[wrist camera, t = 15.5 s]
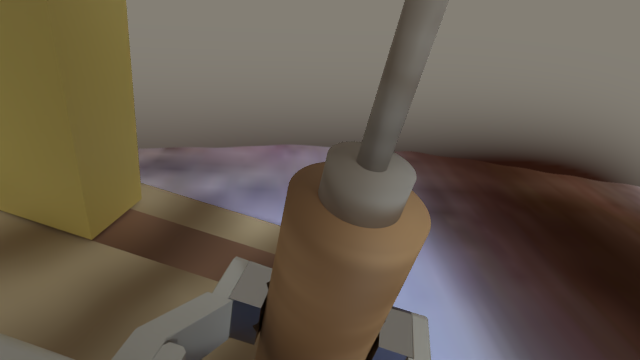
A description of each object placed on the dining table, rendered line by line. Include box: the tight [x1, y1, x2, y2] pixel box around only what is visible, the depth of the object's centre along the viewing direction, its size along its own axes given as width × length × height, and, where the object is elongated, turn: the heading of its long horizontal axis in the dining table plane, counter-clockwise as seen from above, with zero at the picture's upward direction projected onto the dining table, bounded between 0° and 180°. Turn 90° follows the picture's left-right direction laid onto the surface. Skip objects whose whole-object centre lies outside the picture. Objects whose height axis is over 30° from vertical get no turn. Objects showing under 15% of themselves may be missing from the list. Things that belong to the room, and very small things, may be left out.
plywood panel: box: [0, 183, 281, 360], centre depth 17 cm, size 20×14×1 cm
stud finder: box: [0, 0, 142, 240], centre depth 17 cm, size 4×6×12 cm
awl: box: [255, 0, 449, 360], centre depth 9 cm, size 3×3×15 cm
